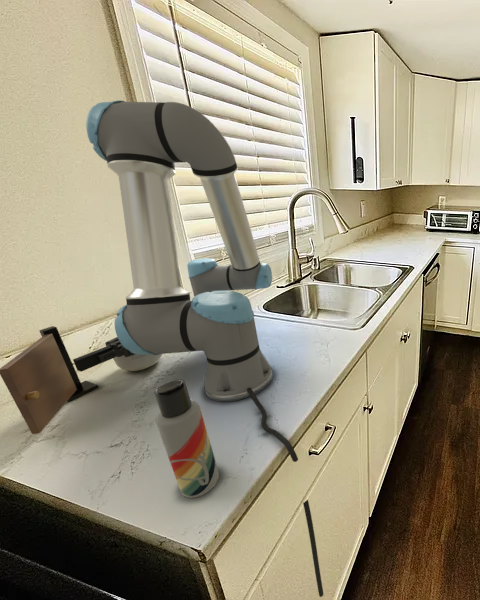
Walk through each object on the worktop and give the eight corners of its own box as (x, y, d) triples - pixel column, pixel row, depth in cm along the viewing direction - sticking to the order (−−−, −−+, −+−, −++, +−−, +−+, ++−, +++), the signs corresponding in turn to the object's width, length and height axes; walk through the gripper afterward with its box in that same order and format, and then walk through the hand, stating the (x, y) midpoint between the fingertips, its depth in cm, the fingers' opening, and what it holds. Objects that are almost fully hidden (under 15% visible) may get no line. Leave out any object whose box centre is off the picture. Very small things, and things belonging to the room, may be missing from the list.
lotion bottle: (193, 504, 52) (158, 401, 44) (173, 489, 54) (137, 389, 47) (226, 477, 56) (199, 380, 49) (206, 464, 59) (178, 370, 51)
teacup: (140, 378, 84) (130, 351, 81) (106, 373, 86) (95, 347, 83) (183, 351, 96) (176, 326, 94) (153, 347, 99) (145, 324, 96)
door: (70, 390, 77) (45, 334, 72) (83, 388, 78) (59, 332, 73) (32, 434, 64) (-3, 370, 59) (48, 431, 65) (15, 367, 60)
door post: (56, 397, 77) (25, 333, 71) (86, 383, 82) (60, 322, 76) (68, 402, 75) (38, 337, 69) (98, 387, 81) (73, 325, 74)
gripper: (201, 338, 89) (101, 386, 69) (169, 331, 94) (66, 374, 73) (195, 313, 87) (88, 355, 66) (162, 307, 91) (53, 345, 71)
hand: (77, 365), depth 70 cm, fingers closed
